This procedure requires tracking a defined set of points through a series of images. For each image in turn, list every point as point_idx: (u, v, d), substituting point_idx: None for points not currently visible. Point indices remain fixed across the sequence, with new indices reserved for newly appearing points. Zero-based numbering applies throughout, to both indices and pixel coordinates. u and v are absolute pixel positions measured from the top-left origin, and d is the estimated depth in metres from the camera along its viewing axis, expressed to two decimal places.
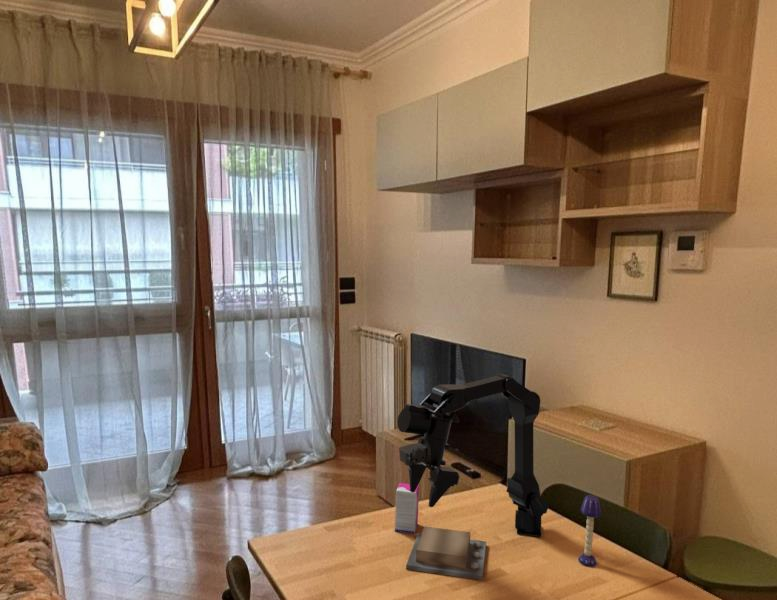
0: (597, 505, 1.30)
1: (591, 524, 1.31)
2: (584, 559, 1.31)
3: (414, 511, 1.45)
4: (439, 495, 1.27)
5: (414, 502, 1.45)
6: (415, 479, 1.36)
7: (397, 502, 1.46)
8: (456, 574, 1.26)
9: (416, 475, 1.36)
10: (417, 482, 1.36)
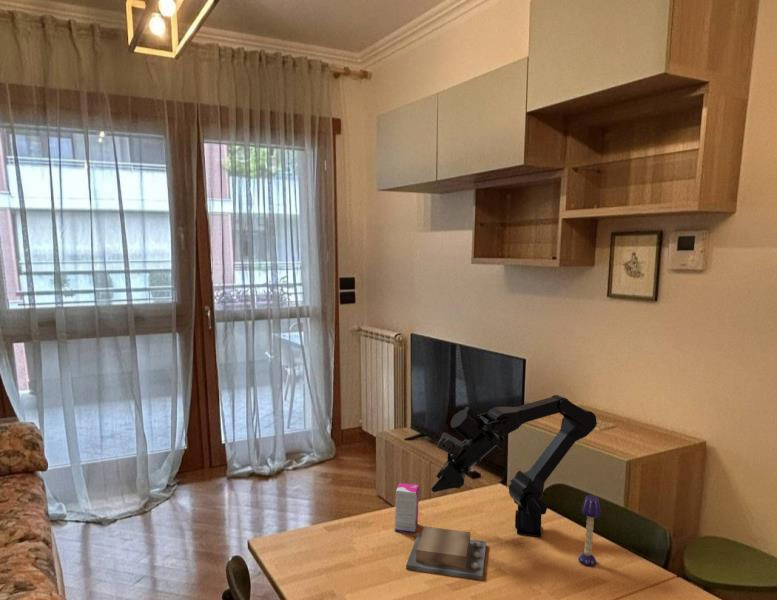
0: (597, 505, 1.30)
1: (591, 524, 1.31)
2: (584, 559, 1.31)
3: (414, 511, 1.45)
4: (443, 487, 1.40)
5: (414, 502, 1.45)
6: None
7: (397, 502, 1.46)
8: (456, 574, 1.26)
9: None
10: None
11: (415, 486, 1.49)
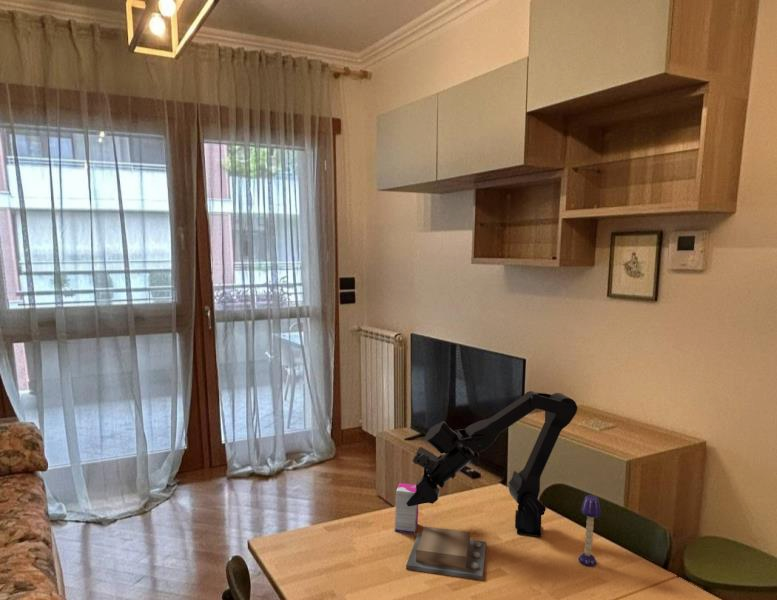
0: (597, 505, 1.30)
1: (591, 524, 1.31)
2: (584, 559, 1.31)
3: (414, 511, 1.45)
4: (418, 502, 1.42)
5: None
6: None
7: (397, 502, 1.46)
8: (456, 574, 1.26)
9: None
10: None
11: (415, 486, 1.49)
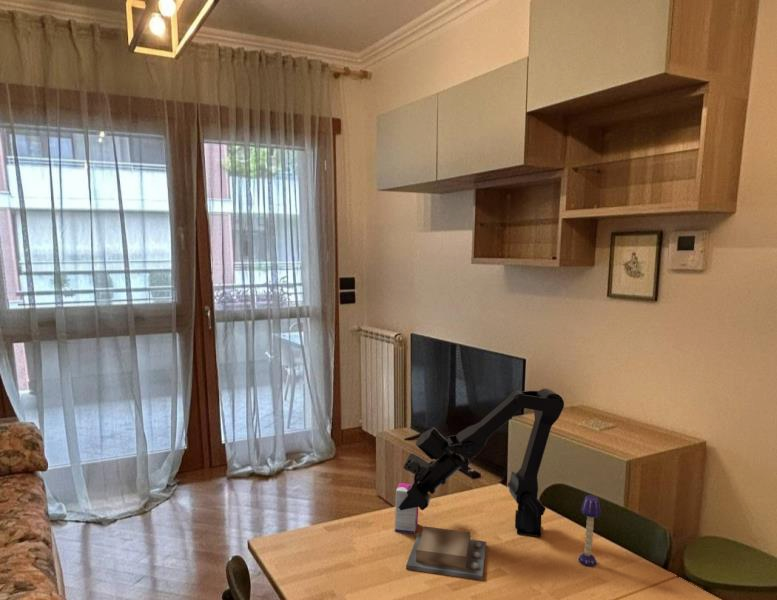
0: (597, 505, 1.29)
1: (591, 524, 1.31)
2: (584, 559, 1.31)
3: (414, 511, 1.45)
4: (409, 506, 1.44)
5: None
6: None
7: (397, 502, 1.46)
8: (456, 574, 1.26)
9: None
10: None
11: None
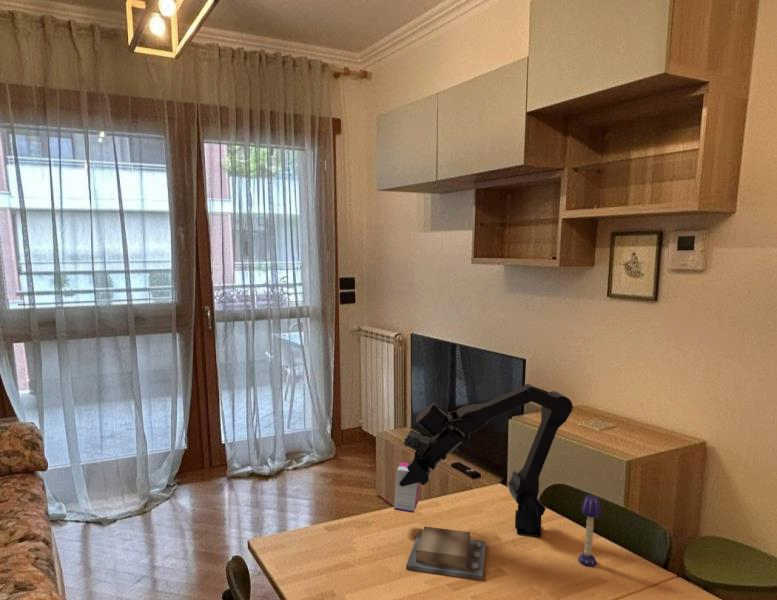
0: (597, 505, 1.29)
1: (591, 524, 1.31)
2: (584, 559, 1.31)
3: (414, 491, 1.45)
4: (410, 482, 1.44)
5: None
6: None
7: (398, 481, 1.46)
8: (456, 574, 1.26)
9: None
10: None
11: None
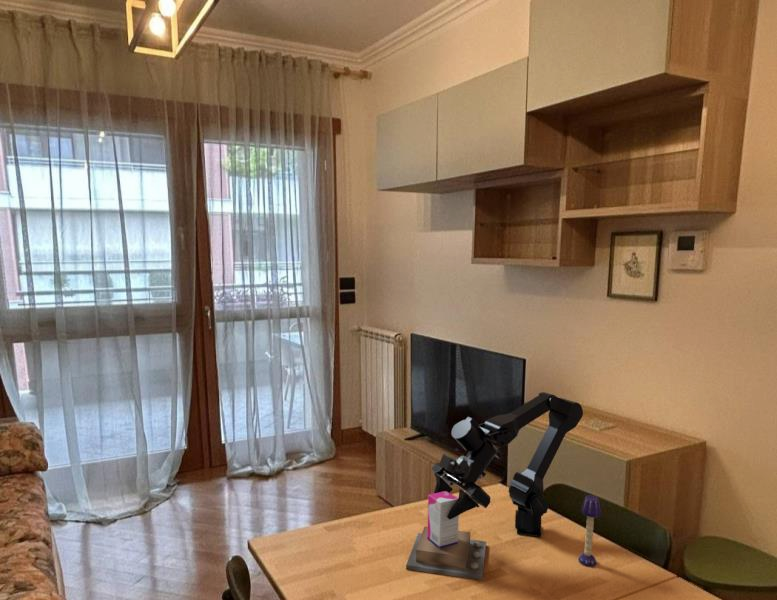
0: (597, 505, 1.30)
1: (591, 524, 1.31)
2: (584, 559, 1.31)
3: (457, 519, 1.32)
4: (461, 511, 1.30)
5: None
6: None
7: (442, 515, 1.30)
8: (456, 574, 1.26)
9: None
10: None
11: (446, 493, 1.36)
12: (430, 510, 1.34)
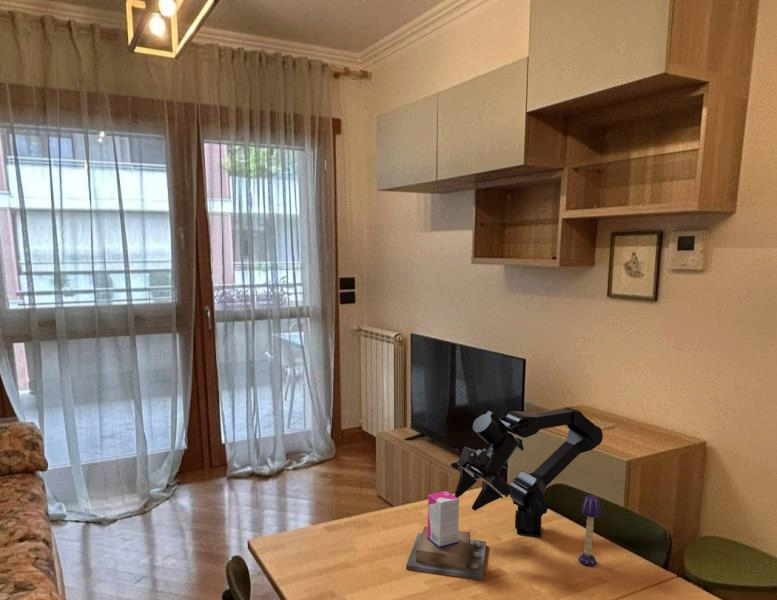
0: (597, 505, 1.29)
1: (591, 524, 1.31)
2: (584, 559, 1.31)
3: (457, 519, 1.32)
4: (485, 502, 1.34)
5: (457, 509, 1.32)
6: (463, 487, 1.43)
7: (442, 515, 1.30)
8: (456, 574, 1.26)
9: (465, 484, 1.44)
10: (463, 490, 1.43)
11: (447, 493, 1.36)
12: (430, 510, 1.34)
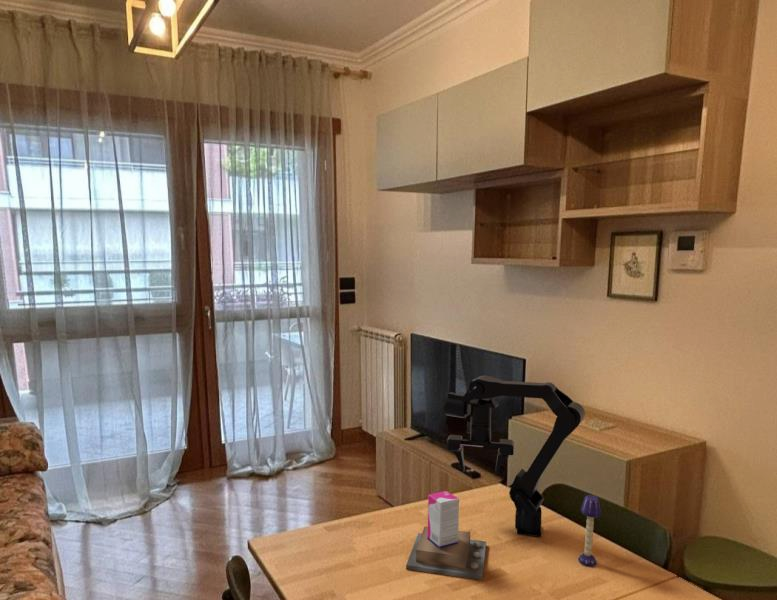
0: (597, 505, 1.30)
1: (591, 524, 1.31)
2: (584, 559, 1.31)
3: (457, 519, 1.32)
4: None
5: (457, 509, 1.32)
6: (496, 464, 1.53)
7: (442, 515, 1.30)
8: (456, 574, 1.26)
9: None
10: None
11: (447, 493, 1.36)
12: (430, 510, 1.34)
